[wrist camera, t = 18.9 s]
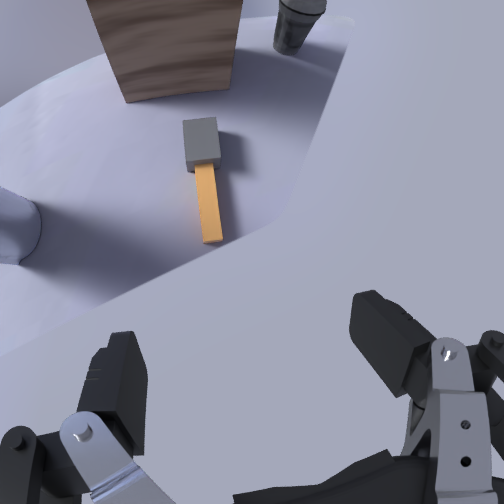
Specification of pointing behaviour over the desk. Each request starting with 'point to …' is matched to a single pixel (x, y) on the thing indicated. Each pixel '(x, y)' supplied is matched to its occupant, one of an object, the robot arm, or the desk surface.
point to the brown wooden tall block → (168, 44)
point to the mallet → (204, 171)
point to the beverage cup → (295, 23)
